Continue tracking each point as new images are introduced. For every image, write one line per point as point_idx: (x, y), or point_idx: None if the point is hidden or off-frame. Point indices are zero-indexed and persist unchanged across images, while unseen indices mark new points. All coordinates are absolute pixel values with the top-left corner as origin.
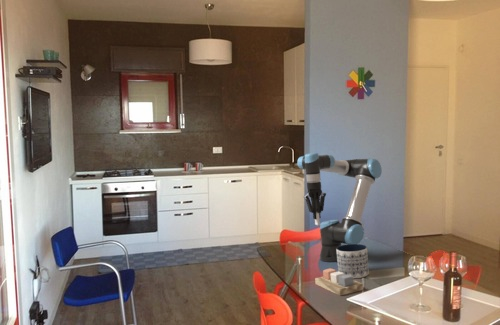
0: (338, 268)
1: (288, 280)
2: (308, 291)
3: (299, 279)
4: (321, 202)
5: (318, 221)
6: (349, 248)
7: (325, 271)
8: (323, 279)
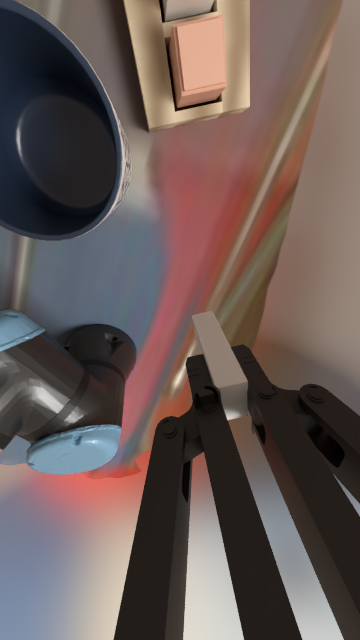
0: (130, 165)
1: (286, 215)
2: (307, 15)
3: (256, 207)
4: (175, 584)
5: (209, 329)
6: (41, 229)
7: (222, 59)
8: (231, 57)
